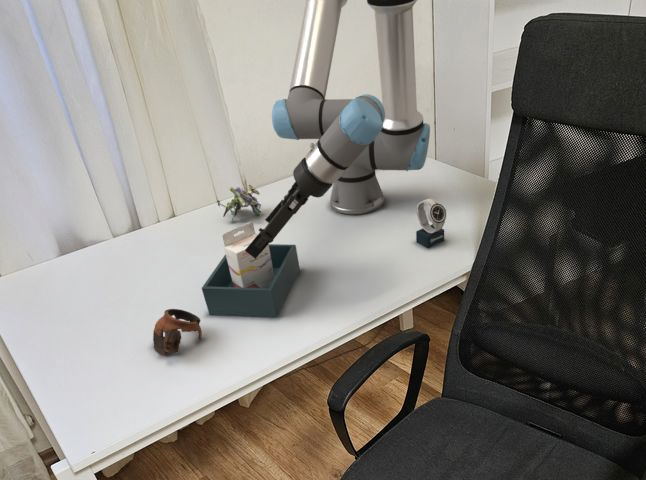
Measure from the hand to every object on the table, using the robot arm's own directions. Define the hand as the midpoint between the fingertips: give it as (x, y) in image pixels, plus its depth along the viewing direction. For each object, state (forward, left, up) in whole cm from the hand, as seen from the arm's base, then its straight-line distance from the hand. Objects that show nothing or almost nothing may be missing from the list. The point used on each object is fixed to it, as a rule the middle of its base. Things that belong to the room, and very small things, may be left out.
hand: (260, 238), depth 127 cm
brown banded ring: (+21, -14, -14) cm, 29 cm away
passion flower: (-37, -20, -14) cm, 44 cm away
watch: (-25, +34, -14) cm, 45 cm away
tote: (0, -4, -14) cm, 14 cm away
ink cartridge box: (0, -4, -13) cm, 13 cm away
